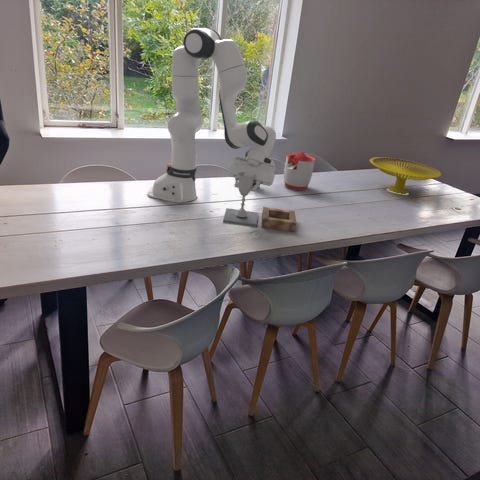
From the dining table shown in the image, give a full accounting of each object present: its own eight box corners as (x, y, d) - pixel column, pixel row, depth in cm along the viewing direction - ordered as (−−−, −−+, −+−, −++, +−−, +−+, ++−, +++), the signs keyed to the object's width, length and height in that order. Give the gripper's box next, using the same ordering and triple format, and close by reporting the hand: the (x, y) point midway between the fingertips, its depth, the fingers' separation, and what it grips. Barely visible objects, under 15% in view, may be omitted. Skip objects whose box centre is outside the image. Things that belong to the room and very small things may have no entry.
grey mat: (223, 222, 178) (223, 220, 177) (226, 210, 191) (226, 208, 190) (256, 226, 178) (256, 224, 177) (257, 214, 190) (257, 212, 190)
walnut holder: (261, 227, 178) (262, 218, 176) (261, 215, 190) (263, 206, 189) (294, 232, 178) (296, 223, 176) (293, 219, 190) (294, 211, 189)
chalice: (237, 218, 179) (242, 177, 172) (230, 212, 185) (235, 172, 177) (252, 217, 182) (258, 176, 175) (245, 211, 188) (250, 171, 180)
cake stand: (393, 178, 277) (400, 156, 270) (448, 200, 247) (457, 175, 240) (348, 182, 256) (354, 157, 250) (402, 206, 226) (410, 179, 220)
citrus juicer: (273, 185, 232) (279, 149, 223) (291, 181, 244) (297, 146, 236) (297, 194, 223) (304, 156, 215) (315, 189, 236) (322, 153, 227)
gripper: (232, 152, 183) (220, 179, 178) (277, 162, 176) (265, 190, 172) (235, 160, 188) (223, 186, 184) (279, 170, 182) (267, 198, 178)
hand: (244, 188), depth 178 cm, fingers closed on chalice, 6 cm apart
